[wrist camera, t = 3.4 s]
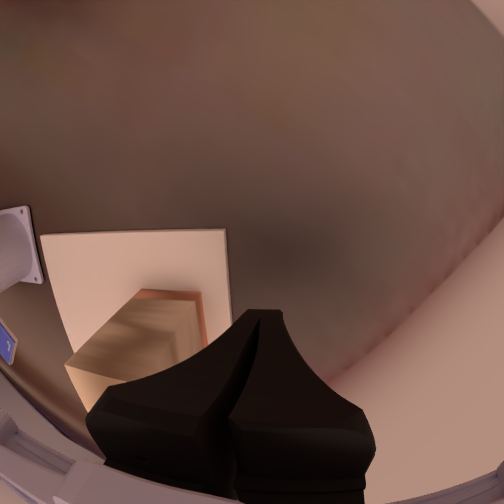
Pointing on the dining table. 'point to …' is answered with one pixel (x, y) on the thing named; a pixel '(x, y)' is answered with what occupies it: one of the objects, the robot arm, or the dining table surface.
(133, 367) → the birch block
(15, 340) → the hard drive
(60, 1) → the dining table surface
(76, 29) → the dining table surface
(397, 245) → the dining table surface
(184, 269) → the beige mat
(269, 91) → the dining table surface
